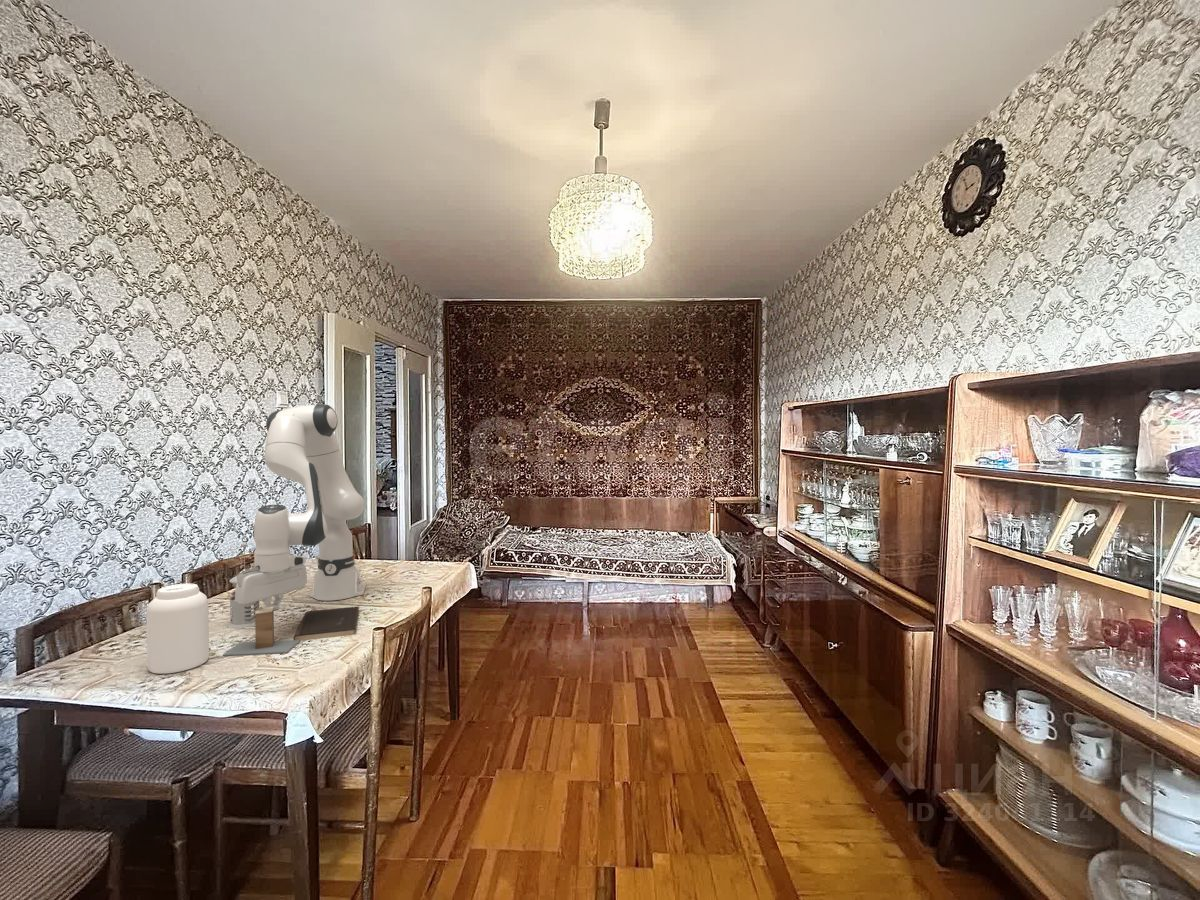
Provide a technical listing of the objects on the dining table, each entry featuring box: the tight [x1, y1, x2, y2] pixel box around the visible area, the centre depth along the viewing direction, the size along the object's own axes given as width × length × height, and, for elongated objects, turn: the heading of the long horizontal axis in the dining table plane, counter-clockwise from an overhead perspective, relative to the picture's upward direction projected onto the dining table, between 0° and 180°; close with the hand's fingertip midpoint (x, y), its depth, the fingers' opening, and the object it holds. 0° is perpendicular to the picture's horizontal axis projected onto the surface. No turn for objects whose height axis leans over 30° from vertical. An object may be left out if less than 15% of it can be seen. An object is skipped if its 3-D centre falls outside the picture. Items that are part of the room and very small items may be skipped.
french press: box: [226, 542, 261, 629], centre depth 175 cm, size 10×12×25 cm
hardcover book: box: [293, 605, 360, 641], centre depth 172 cm, size 16×23×2 cm
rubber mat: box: [222, 639, 302, 657], centre depth 153 cm, size 9×16×1 cm, turn 98°
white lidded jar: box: [146, 582, 210, 675], centre depth 142 cm, size 12×12×20 cm
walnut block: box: [254, 606, 275, 649], centre depth 154 cm, size 4×4×10 cm
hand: (272, 611), depth 160 cm, fingers closed
